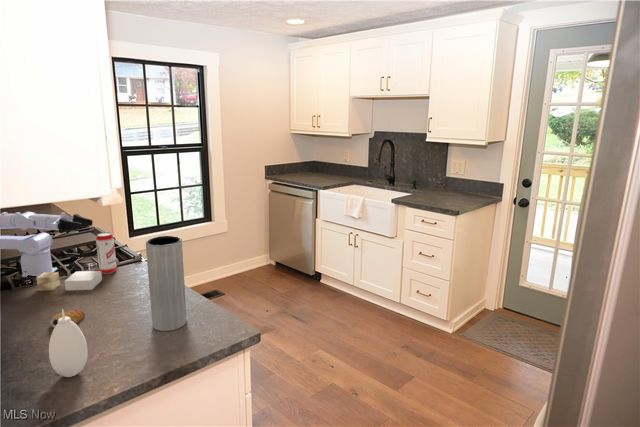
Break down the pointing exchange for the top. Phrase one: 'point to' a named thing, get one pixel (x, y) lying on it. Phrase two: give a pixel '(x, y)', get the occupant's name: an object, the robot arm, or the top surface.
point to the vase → (166, 282)
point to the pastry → (73, 314)
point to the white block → (83, 280)
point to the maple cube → (48, 281)
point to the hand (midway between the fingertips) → (86, 224)
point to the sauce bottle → (67, 348)
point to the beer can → (106, 253)
